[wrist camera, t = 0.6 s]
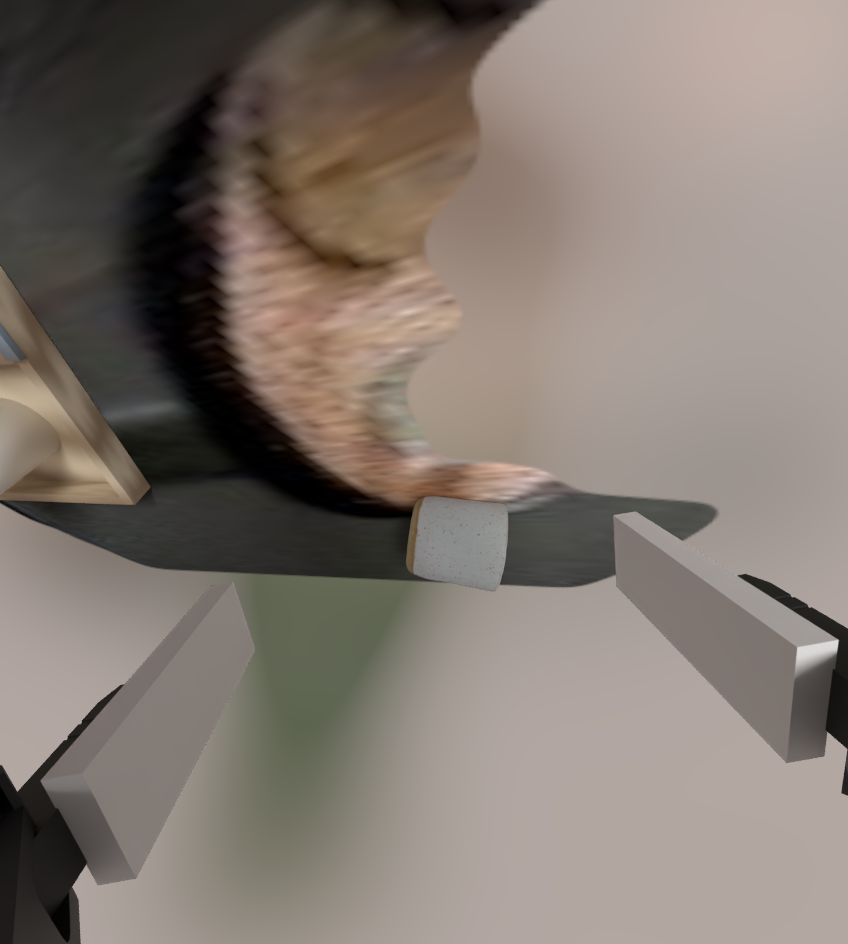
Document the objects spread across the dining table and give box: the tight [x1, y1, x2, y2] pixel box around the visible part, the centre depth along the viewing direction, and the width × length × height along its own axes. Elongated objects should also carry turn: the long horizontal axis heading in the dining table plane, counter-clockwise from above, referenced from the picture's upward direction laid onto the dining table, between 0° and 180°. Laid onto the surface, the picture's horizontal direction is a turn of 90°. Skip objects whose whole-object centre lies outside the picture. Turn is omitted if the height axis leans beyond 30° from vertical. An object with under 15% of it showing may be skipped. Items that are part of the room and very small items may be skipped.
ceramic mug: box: [406, 496, 508, 591], centre depth 37 cm, size 11×8×8 cm
